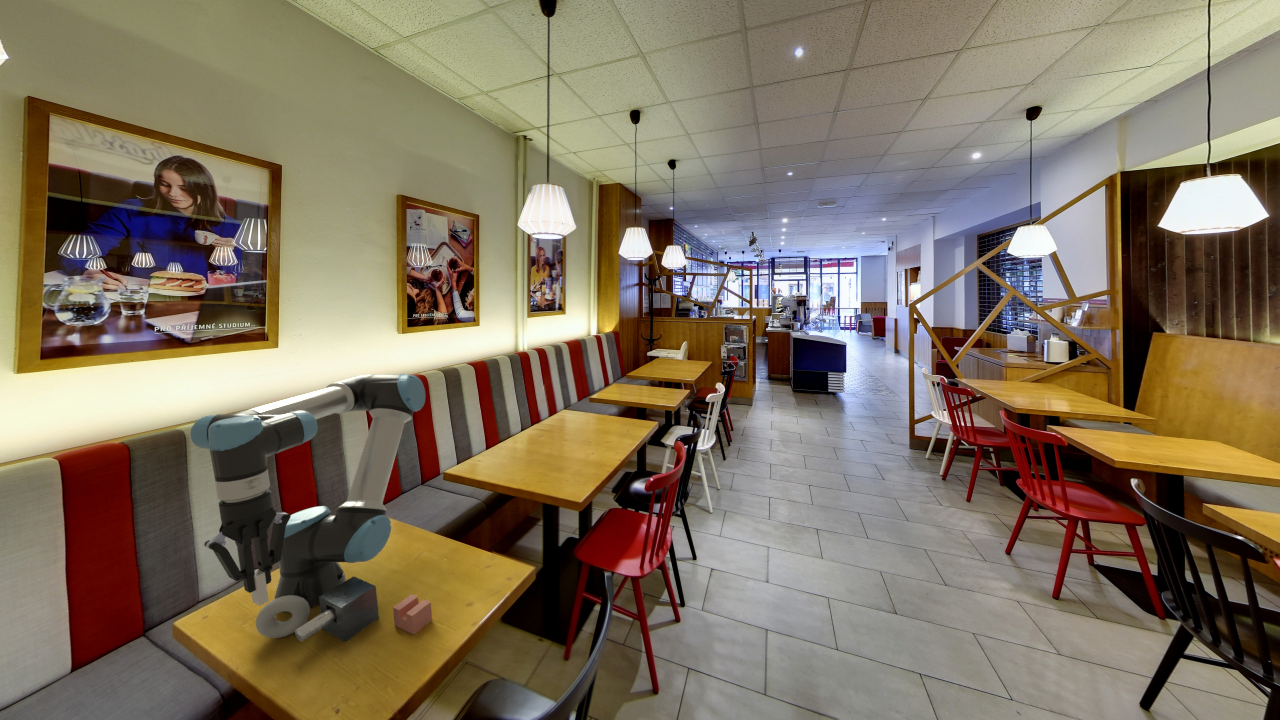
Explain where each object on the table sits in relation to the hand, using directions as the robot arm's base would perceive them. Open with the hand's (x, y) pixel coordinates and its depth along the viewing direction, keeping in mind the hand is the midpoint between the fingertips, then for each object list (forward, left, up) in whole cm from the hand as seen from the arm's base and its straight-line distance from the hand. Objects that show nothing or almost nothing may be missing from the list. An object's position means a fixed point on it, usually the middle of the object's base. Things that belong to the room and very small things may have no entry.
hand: (260, 601), depth 83 cm
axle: (0, +13, -13) cm, 18 cm away
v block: (+14, +23, -18) cm, 32 cm away
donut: (-11, +8, -18) cm, 23 cm away
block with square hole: (0, +16, -18) cm, 24 cm away
